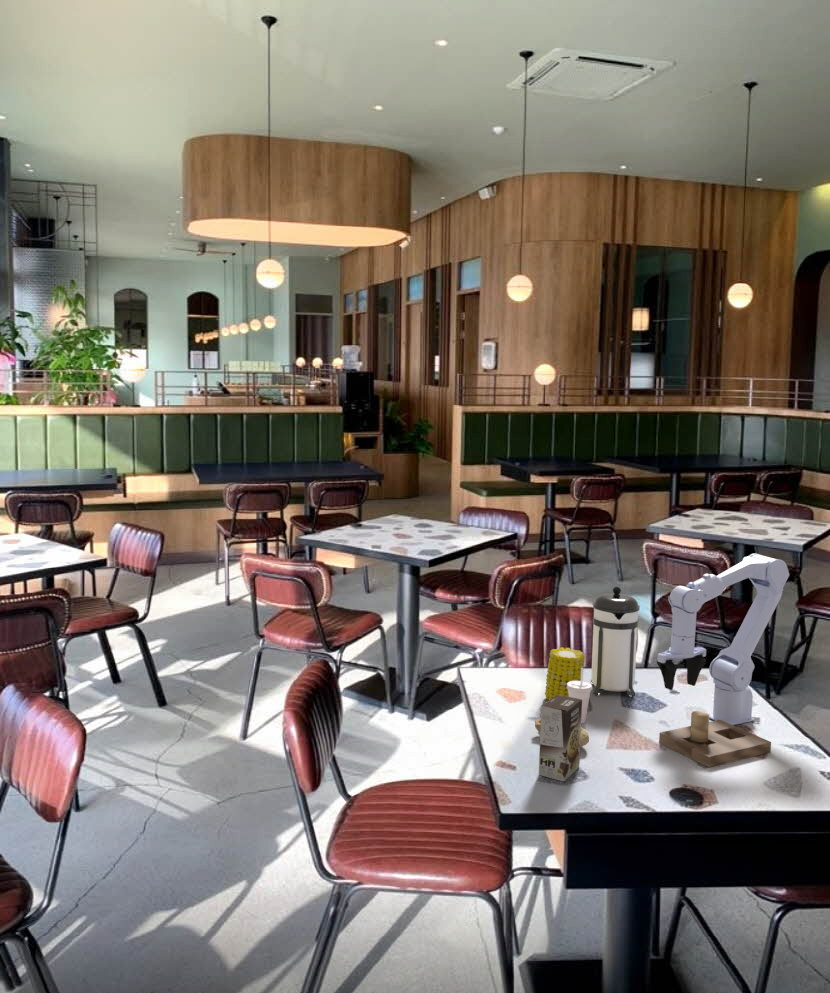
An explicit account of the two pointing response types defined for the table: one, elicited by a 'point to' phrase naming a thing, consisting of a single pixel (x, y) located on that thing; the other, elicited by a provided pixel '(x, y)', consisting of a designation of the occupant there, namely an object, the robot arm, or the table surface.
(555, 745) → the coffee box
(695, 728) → the oak peg
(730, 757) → the walnut board
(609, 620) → the coffee press
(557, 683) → the food
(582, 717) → the smoothie
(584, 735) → the oil lamp
